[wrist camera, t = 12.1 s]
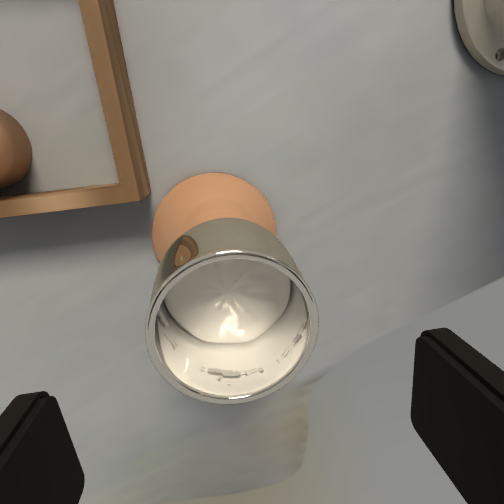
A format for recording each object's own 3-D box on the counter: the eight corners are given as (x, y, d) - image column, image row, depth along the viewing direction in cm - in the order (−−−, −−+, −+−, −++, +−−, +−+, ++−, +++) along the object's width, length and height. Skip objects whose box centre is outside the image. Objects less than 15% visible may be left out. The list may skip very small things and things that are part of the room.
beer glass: (213, 290, 28) (220, 438, 14) (157, 228, 26) (95, 326, 11) (278, 241, 27) (356, 340, 13) (227, 173, 25) (253, 203, 11)
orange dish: (269, 165, 26) (270, 166, 25) (278, 280, 29) (280, 283, 28) (142, 180, 25) (140, 181, 24) (166, 297, 28) (164, 301, 27)
